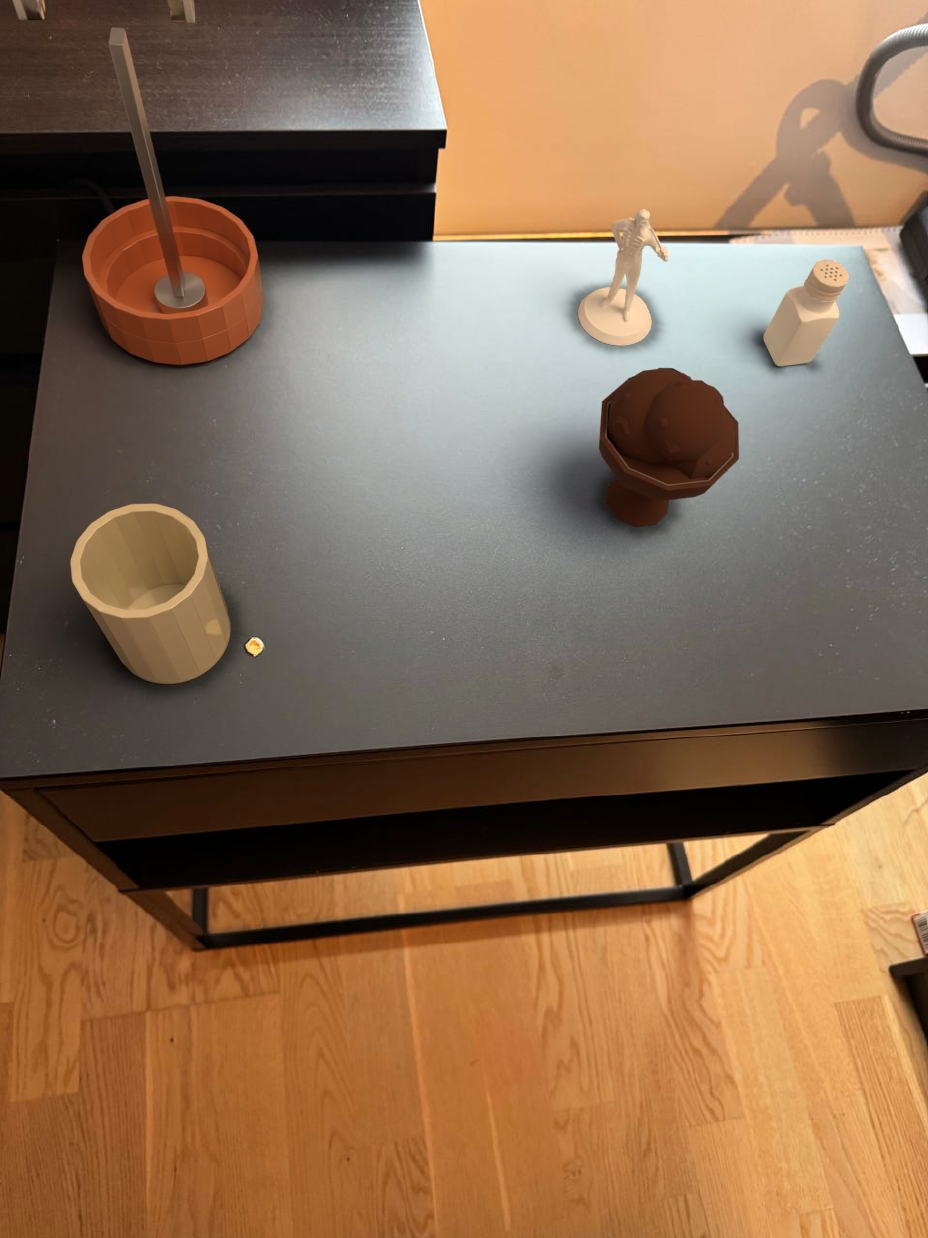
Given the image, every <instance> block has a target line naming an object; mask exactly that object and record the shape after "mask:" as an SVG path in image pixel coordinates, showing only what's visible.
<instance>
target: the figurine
mask: <svg viewBox="0 0 928 1238" xmlns="http://www.w3.org/2000/svg"><path fill="white" fill-rule="evenodd" d="M650 216H651V213H650V211H649V210H647V209H645V208H641V209H640V210H638V211H637V213H636V215H634V216H633V217H627V218H622V219H618V220H615V221H614V222H613V223H611V233H612V235H613V238H614V240H615V243H616V245H617V247H618V250H617V252H616V258H615V265H614V266H615V267H614V274H613V278H612V281H611V285H610V286H606V287H601V288H599V289H596V290H594V291H592V292H591V293H589V294H587V295H586V296H585V297H584V298H583V299H582V300H581V302H580V304H578V305H579V306H578V309H577V317H578V321H579V324H580V326H581V328H583V330H584V331H585V332H586V334H588V335H590V336H591V337H592V338H593V339H595V340H596V341H599V342H601V343H603V344H606V345H611V346H619V347H621V346H623V347H625V346H630V345H634V344H637V343H639V342H640V341H642V340H643V339H645V338H646V337H647V336H648V335H649V333H650V331H651V329H652V325H653V324H652V323H653V321H652V316H651V312H650V310H649V308H648V306H647V304H646V302H644V300H643V299H642V298H641V297H640V296H638V295H637V294H636V289H637V286H638V283H639V279H640V276H641V270H642V262H643V249H645V247H650V248H651V249H652V250H653V252H654V253H655V254H656V255H657V257H658V258H660V259H661V260H662V261H663V262H666V263H667V262H668V261H669V249H668V248H667V247H666V246H662V243H661V241H660V239H659V237H658V235H657V233H656V231H655V230H654V229H653V227H652V226H651V224H650V222H649V220H650ZM621 232H622V235H621ZM624 278H625V279H626V288H622V287H621V286H622V284H623V282H624V281H623V280H624Z"/></svg>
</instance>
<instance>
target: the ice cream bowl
mask: <svg viewBox="0 0 928 1238" xmlns="http://www.w3.org/2000/svg"><path fill="white" fill-rule="evenodd" d="M599 423H600V425H599V437H598V438H599V440H598V450H599V453H600V456H601V459H602V460H603V461H604V463H605V464H606V465H607V466H608V468H609V469H610V471H611V472H612V474H613V475H614V476H615V479H613V480H612V481H611V482H610V483H609V484H608V485H607V486H606V501H605V504H606V505H607V507H608V508H609V510H610V511H611V512H612V513H613V515H614V516H615V518H616V519H617V520H619V521H621V522H624V523H626V524H628V525H631V526H632V527H635V528H640V527H647V526H656V525H657V524H658V523H659V522H660V521H661V520H662V519H663V518H664V517H665V516H666V515H667V514H668V513H669V501H674V500H683V499H692V498H696V497H699V496H701V495H704V494H705V493H706V492H708V490H709V489H711V487H713V486H714V485H715V484H716V482H718V481H719V480H720V479H721V478H722V477H723V476H724V475H725V474H726V473H727V472H728V471H729V470H730V469H731V468H732V467H733V466H734V465H735V464H736V463H737V462H738V461H739V459H740V434H739V430H740V429H739V422H738V420H737V419H736V418H735V416H733V414H732V413H731V411H729V409H728V408H727V407H726V405H725V401H724V396H723V395H722V394H721V393H720V391H719V390H718V389H717V388H716V387H715V386H713V385H710V384H707V383H706V382H705V381H704V380H702V379H692V377H691V376H689V375H687V374H686V373H684V372H681V371H680V370H677V369H676V368H673V367H658V368H653V369H646V370H641V371H639V372H638V373H637V374H635V375H632V376H630V377H628V378H627V379H626V380H625V381H624V382H623V383H621V384H620V385H619V386H618V387H617V388H616V389H614V390H613V391H612V392H610V394H609V395H607V396H606V397H605V398H604V399H603V400H602V401H601V411H600V422H599Z"/></svg>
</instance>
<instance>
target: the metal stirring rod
mask: <svg viewBox="0 0 928 1238" xmlns="http://www.w3.org/2000/svg"><path fill="white" fill-rule="evenodd" d="M126 32H127V31H126V28H125V27H111V28H110V34H109V39H108V48H109V52H110V56H111V59H112V63H113V66H114V70H115V76H116V79H117V82H118V85H119V90H120V94H121V98H122V102H123V106H124V109H125V113H126V117H127V120H128V125H129V129H130V132H131V136H132V140H133V144H134V149H135V152H136V156H137V159H138V164H139V166H140V171H141V176H142V178H143V183H144V186H145V187H144V188H145V190H146V194H147V199H149V202H150V206H151V210H152V214H153V218H154V221H155V225H156V229H157V233H158V237H159V241H160V245H161V249H162V252H163V256H164V260H165V264H166V268H167V272H168V274H167V275H165V276H163V277H162V278H160V279H159V280H158V281H157V283H156V285H155V288H154V294H155V298H156V301H157V305H158V308H159V310H160V312H161V313H162V314H173V313H181V312H189V311H195V310H198V309H200V308H203V307H206V306H208V297H207V293H206V288H205V284H204V282H203V281H202V280H201V279H200V278H199V277H198V276H197V275H195V274H192V273H189V272H183V270H182V265H181V261H180V257H179V253H178V249H177V245H176V240H175V236H174V232H173V228H172V224H171V220H170V215H169V211H168V207H167V203H166V199H165V197H166V195H165V191H164V186H163V182H162V178H161V174H160V170H159V165H158V162H157V157H156V154H155V149H154V145H153V141H152V135H151V133H150V127H149V124H148V119H147V116H146V111H145V108H144V103H143V99H142V95H141V89H140V87H139V82H138V78H137V74H136V69H135V66H134V62H133V57H132V52H131V49H130V44H129V40H128V37H127V33H126Z"/></svg>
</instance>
